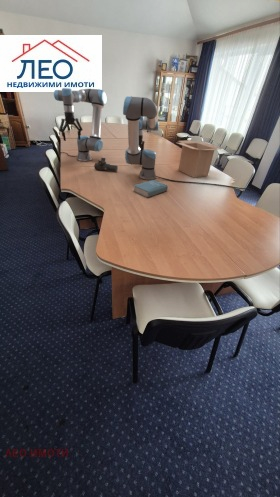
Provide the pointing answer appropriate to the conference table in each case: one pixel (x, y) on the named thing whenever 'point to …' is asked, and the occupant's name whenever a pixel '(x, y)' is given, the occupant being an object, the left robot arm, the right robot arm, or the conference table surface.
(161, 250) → the conference table surface
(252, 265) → the conference table surface
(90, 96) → the left robot arm
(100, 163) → the laser sight
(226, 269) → the conference table surface
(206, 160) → the box
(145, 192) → the book
